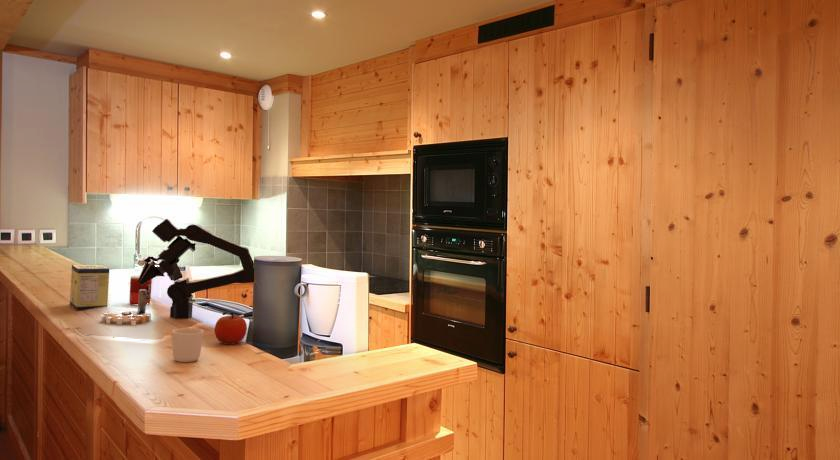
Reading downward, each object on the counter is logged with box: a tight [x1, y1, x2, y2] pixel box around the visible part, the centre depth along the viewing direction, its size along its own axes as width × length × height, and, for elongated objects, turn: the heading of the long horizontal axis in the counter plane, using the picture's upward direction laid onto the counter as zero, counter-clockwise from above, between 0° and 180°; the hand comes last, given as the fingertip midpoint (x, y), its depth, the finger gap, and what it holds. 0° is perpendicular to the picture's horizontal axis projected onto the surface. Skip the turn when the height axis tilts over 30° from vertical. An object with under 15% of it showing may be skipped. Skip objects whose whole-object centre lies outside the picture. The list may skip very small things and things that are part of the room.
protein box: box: [69, 264, 110, 311], centre depth 221 cm, size 10×16×16 cm
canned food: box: [128, 275, 153, 305], centre depth 236 cm, size 8×8×11 cm
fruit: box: [214, 310, 248, 345], centre depth 178 cm, size 10×10×10 cm
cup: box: [171, 327, 205, 363], centre depth 157 cm, size 11×8×8 cm
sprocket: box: [100, 290, 152, 326], centre depth 196 cm, size 15×15×10 cm
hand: (139, 283), depth 199 cm, fingers closed
